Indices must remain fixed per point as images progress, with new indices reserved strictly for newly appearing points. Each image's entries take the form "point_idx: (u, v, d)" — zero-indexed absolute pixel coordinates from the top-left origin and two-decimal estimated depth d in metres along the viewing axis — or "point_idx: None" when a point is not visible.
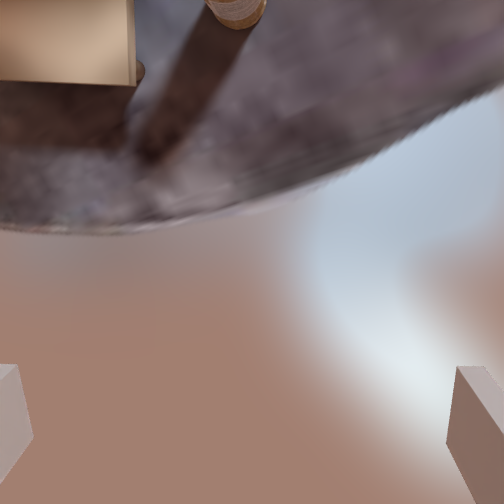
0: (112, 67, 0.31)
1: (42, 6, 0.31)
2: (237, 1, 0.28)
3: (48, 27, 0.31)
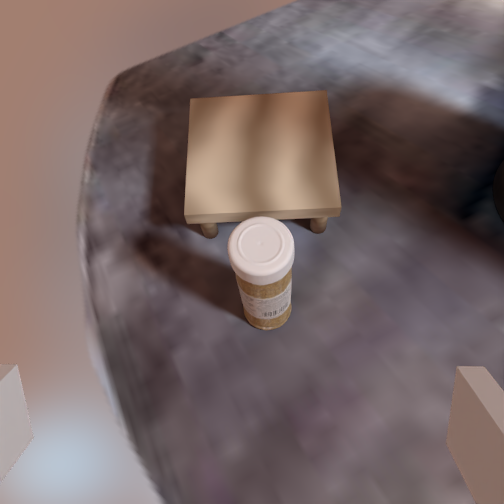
0: (196, 203, 0.40)
1: (237, 158, 0.42)
2: (238, 285, 0.34)
3: (223, 161, 0.42)
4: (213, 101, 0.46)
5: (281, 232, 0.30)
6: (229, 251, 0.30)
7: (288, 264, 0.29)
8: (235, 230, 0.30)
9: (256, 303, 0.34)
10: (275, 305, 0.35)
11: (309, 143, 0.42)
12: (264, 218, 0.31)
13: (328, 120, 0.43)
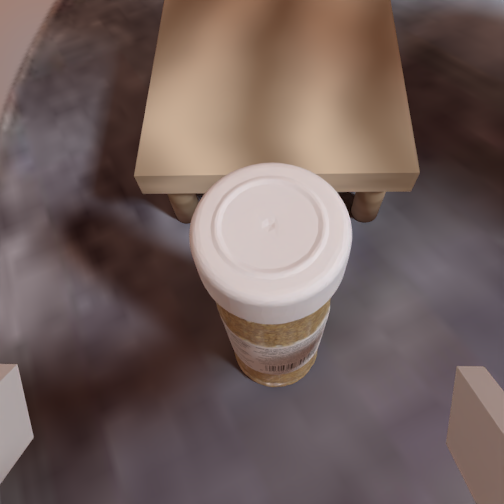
0: (158, 157, 0.23)
1: (236, 85, 0.24)
2: None
3: (211, 90, 0.24)
4: (201, 0, 0.28)
5: (321, 200, 0.12)
6: (192, 240, 0.12)
7: (337, 279, 0.12)
8: (211, 191, 0.13)
9: (255, 352, 0.17)
10: (293, 356, 0.17)
11: (360, 65, 0.25)
12: (281, 166, 0.13)
13: (392, 31, 0.26)
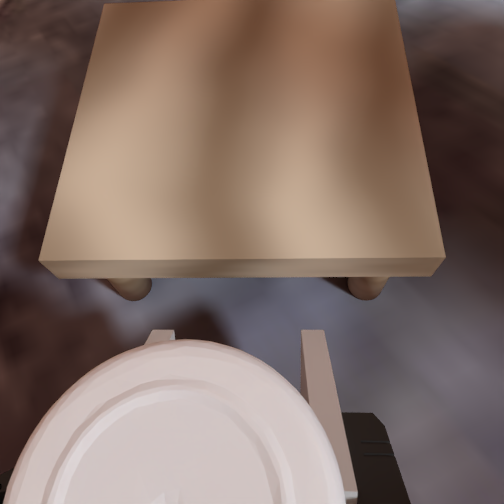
0: (75, 231, 0.16)
1: (189, 126, 0.18)
2: None
3: (155, 133, 0.18)
4: (150, 9, 0.21)
5: (282, 446, 0.06)
6: None
7: None
8: (55, 414, 0.06)
9: None
10: None
11: (358, 97, 0.18)
12: (203, 355, 0.06)
13: (400, 50, 0.19)
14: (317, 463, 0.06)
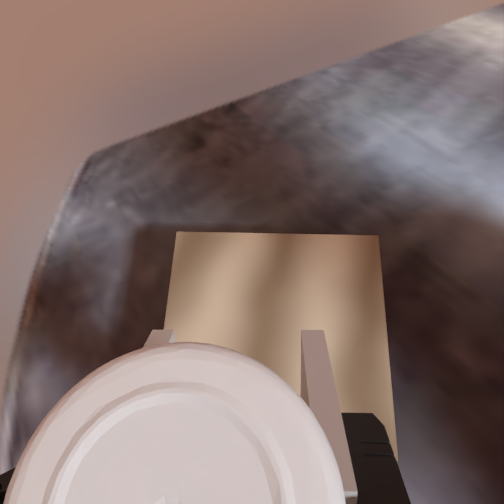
0: None
1: (239, 346, 0.27)
2: None
3: None
4: (209, 239, 0.31)
5: (282, 450, 0.06)
6: None
7: None
8: (54, 417, 0.06)
9: None
10: None
11: (350, 330, 0.28)
12: (203, 358, 0.06)
13: (380, 290, 0.29)
14: (317, 466, 0.06)
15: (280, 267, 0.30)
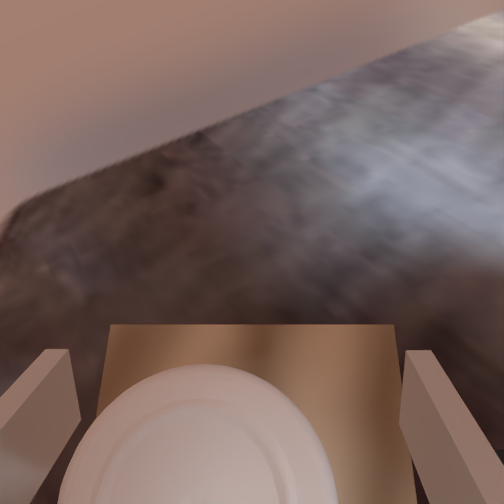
0: None
1: None
2: None
3: None
4: (156, 336, 0.22)
5: (286, 455, 0.07)
6: None
7: None
8: (98, 428, 0.07)
9: None
10: None
11: (359, 479, 0.19)
12: (220, 379, 0.08)
13: None
14: (314, 468, 0.07)
15: None
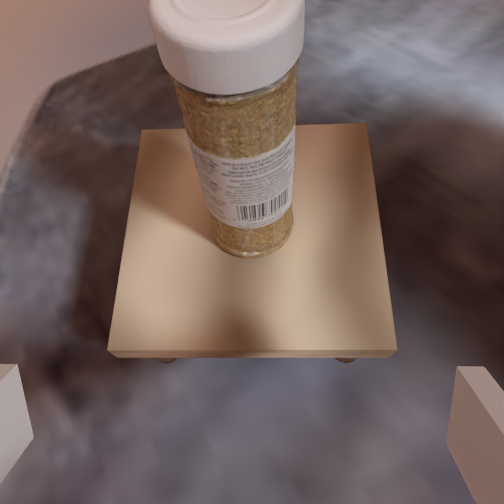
0: (132, 327, 0.22)
1: (212, 240, 0.24)
2: (188, 138, 0.17)
3: (187, 246, 0.24)
4: (178, 136, 0.28)
5: None
6: (150, 5, 0.13)
7: (289, 35, 0.12)
8: None
9: (223, 177, 0.17)
10: (262, 186, 0.18)
11: (337, 217, 0.24)
12: None
13: (370, 176, 0.25)
14: None
15: None
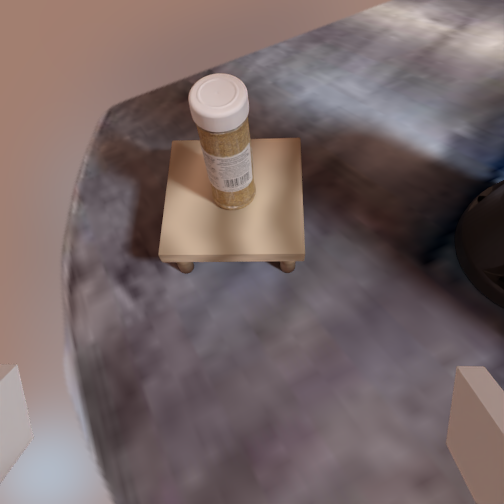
0: (170, 244, 0.43)
1: (212, 201, 0.45)
2: None
3: (199, 204, 0.45)
4: (193, 144, 0.48)
5: (236, 84, 0.34)
6: (189, 99, 0.33)
7: (241, 111, 0.33)
8: (196, 83, 0.34)
9: (217, 165, 0.38)
10: (235, 170, 0.38)
11: (280, 189, 0.45)
12: (223, 74, 0.34)
13: (299, 167, 0.46)
14: (242, 86, 0.33)
15: None
